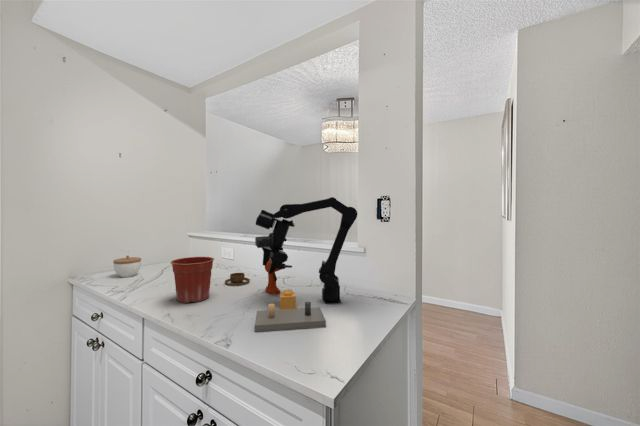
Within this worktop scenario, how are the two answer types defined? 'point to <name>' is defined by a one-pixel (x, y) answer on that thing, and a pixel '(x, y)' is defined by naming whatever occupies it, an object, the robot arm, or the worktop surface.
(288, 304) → the orange knobbed cube
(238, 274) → the brown cup and saucer
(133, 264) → the lidded bowl
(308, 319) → the grey peg board
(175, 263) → the flower pot
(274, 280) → the toy drill
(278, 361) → the worktop surface
